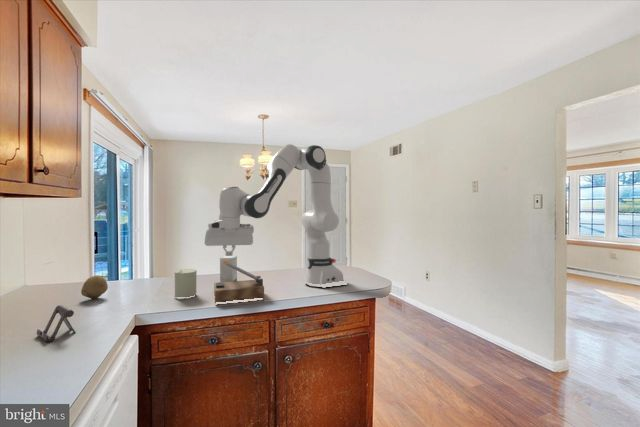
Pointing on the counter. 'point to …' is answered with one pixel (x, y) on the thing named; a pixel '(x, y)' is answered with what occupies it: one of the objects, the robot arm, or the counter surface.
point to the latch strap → (239, 269)
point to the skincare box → (228, 269)
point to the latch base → (238, 290)
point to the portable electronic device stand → (64, 314)
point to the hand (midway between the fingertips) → (229, 255)
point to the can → (185, 282)
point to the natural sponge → (94, 287)
